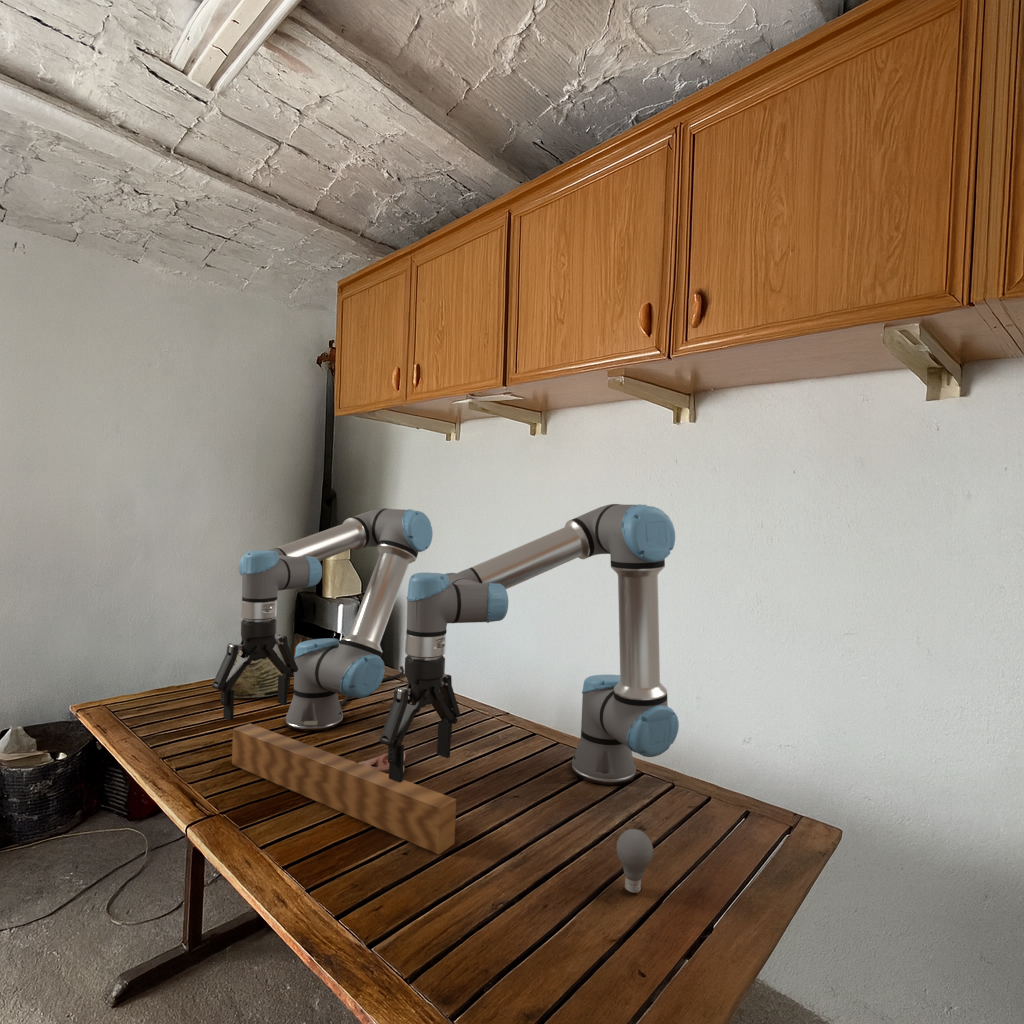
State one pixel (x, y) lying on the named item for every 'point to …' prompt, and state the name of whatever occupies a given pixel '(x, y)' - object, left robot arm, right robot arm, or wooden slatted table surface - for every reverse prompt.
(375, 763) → the anatomical model
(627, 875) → the light bulb
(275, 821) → the wooden slatted table surface
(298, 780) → the beam
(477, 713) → the wooden slatted table surface
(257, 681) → the fossil
